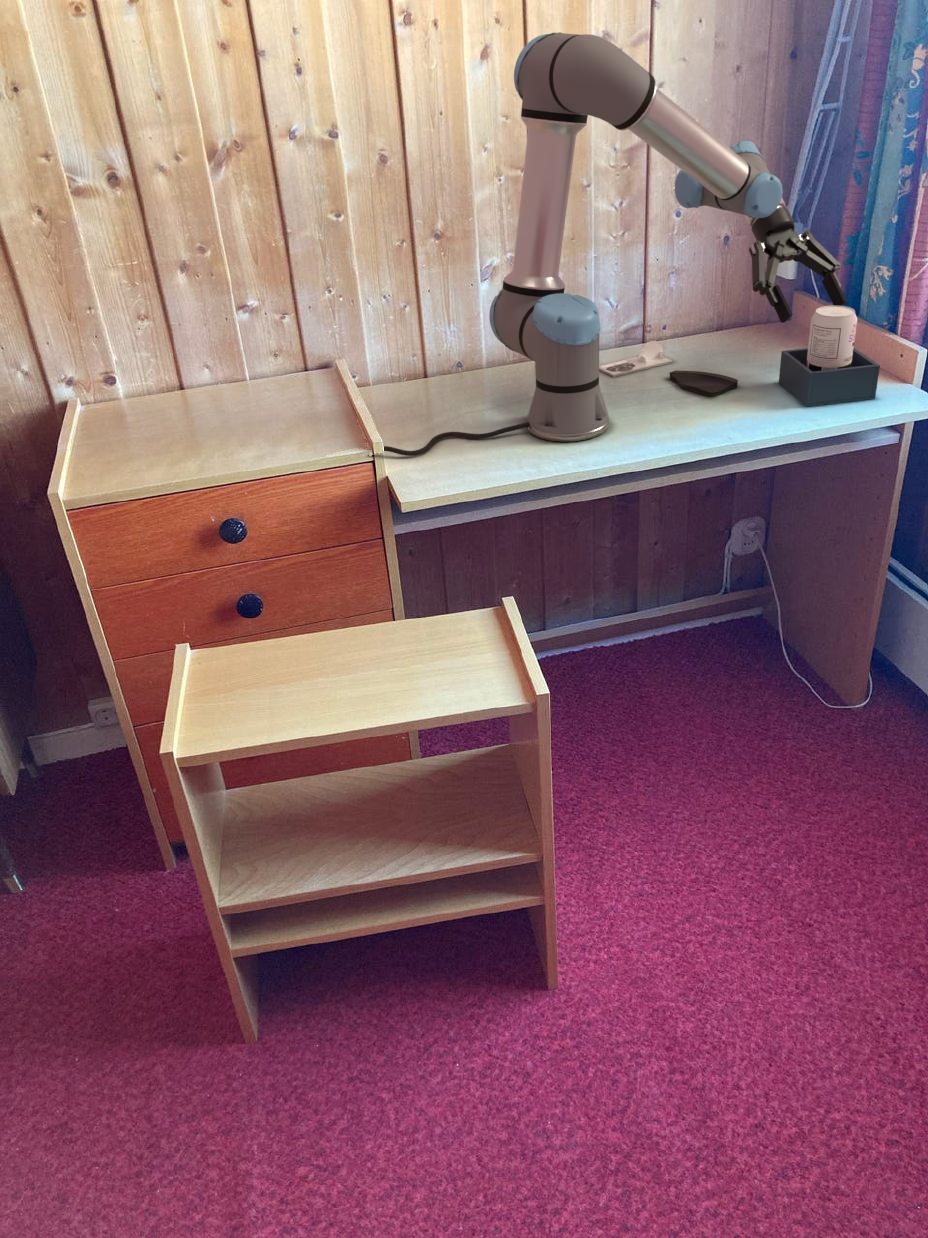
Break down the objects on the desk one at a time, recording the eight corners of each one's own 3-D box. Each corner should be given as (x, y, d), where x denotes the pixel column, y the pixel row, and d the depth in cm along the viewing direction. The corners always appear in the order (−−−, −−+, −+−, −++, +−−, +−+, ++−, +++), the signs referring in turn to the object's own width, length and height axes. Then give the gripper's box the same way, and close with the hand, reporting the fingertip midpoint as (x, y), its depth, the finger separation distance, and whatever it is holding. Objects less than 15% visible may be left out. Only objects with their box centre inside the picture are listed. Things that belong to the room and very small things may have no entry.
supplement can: (797, 382, 207) (805, 306, 198) (837, 378, 207) (847, 302, 199) (813, 397, 200) (822, 319, 192) (855, 392, 200) (866, 314, 192)
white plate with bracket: (653, 354, 228) (654, 333, 226) (672, 362, 223) (673, 341, 221) (596, 368, 223) (596, 347, 220) (613, 376, 218) (613, 355, 215)
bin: (806, 406, 197) (810, 373, 194) (778, 383, 209) (781, 350, 205) (875, 399, 198) (880, 365, 195) (843, 375, 210) (847, 343, 206)
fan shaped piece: (689, 371, 218) (690, 364, 217) (739, 387, 208) (740, 379, 207) (661, 381, 214) (661, 373, 213) (710, 398, 204) (711, 390, 203)
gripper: (806, 219, 211) (851, 310, 208) (707, 239, 202) (752, 334, 199) (828, 195, 204) (875, 289, 201) (727, 215, 195) (774, 313, 192)
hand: (814, 312), depth 200 cm, fingers open, 13 cm apart
